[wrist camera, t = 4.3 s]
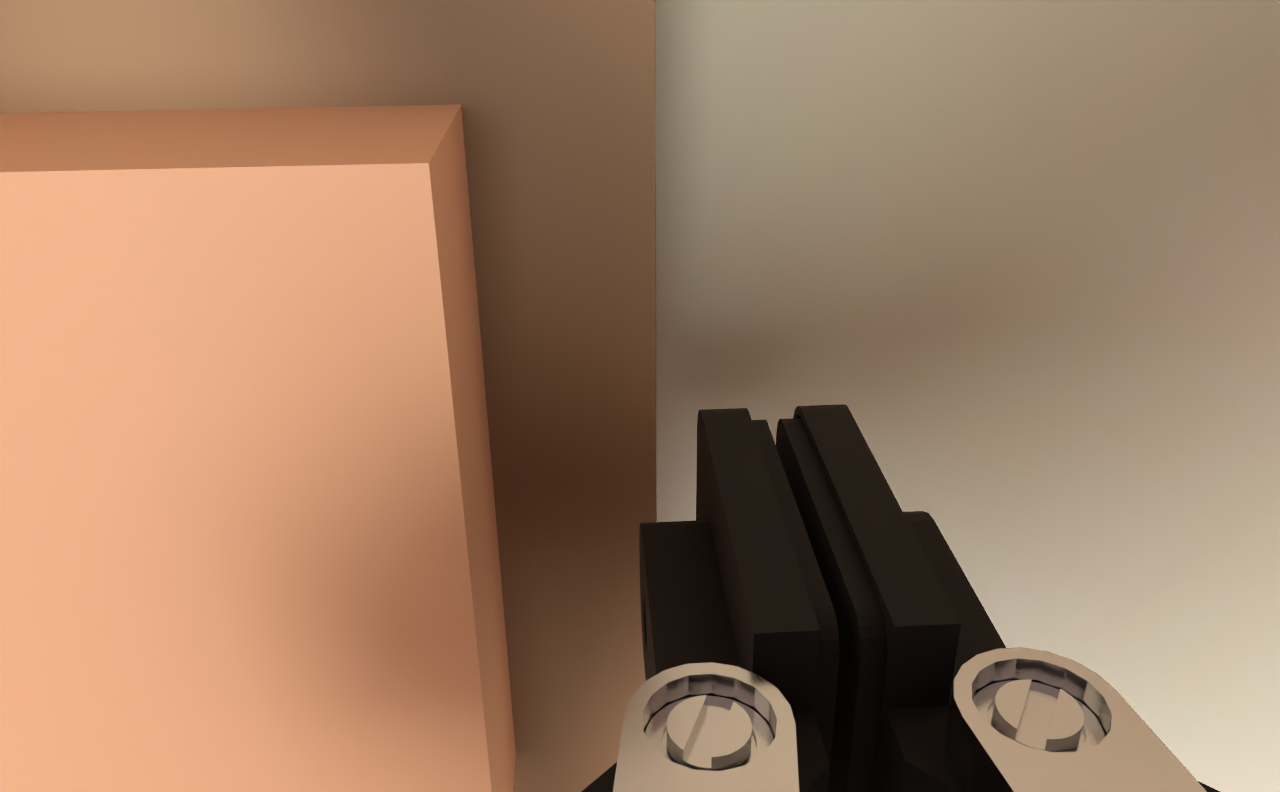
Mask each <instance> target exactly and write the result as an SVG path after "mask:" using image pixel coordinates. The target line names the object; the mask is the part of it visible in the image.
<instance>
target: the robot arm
mask: <svg viewBox="0 0 1280 792" xmlns="http://www.w3.org/2000/svg"><path fill="white" fill-rule="evenodd" d="M639 555H640V600H641V623H642V641H643V655H644V667H645V678H646V681H645V682H644V683H643V684H642V685H641V686H640V687H639V689H638V690H637V691H636V692H635V693H634V694H633V695H632V696H631V698H630V701H629V704H628V706H627V709H626V712H625V714H624V720H623V727H622V733H621V740H620V747H619V753H618V760H617V762H616V763H615V764H614V765H613V766H611V767H610V768H609V769H608V770H607V771H605V772H604V773H603V774H602V775H601V776H599V777H598V778H597V779H596V780H595V781H593V782H592V783H591V784H590V785H589V786H587V787H586V788H585V789H584V790H583V791H581V792H1220V791H1217V790H1215V789H1213V788H1211V787H1209V786H1207V785H1205V784H1203V783H1201V782H1199V781H1197V780H1196V779H1195V778H1194V777H1193V776H1192V775H1191V773H1190V772H1189V771H1188V770H1187V769H1186V768H1185V767H1184V766H1183V764H1182V763H1181V762H1180V761H1179V760H1178V759H1177V758H1176V757H1175V756H1174V754H1173V753H1172V752H1171V751H1170V750H1169V749H1168V748H1167V747H1166V745H1165V744H1164V743H1163V742H1162V741H1161V740H1160V739H1159V738H1158V736H1157V735H1156V734H1155V733H1154V732H1153V731H1152V730H1151V729H1150V728H1149V726H1148V725H1147V724H1146V723H1145V722H1144V721H1143V720H1142V719H1141V717H1140V716H1139V715H1138V714H1137V713H1136V712H1135V711H1134V710H1133V709H1132V707H1131V706H1130V705H1129V704H1128V703H1127V702H1126V701H1125V700H1124V698H1123V697H1122V696H1121V695H1120V694H1119V693H1118V692H1117V691H1116V690H1115V689H1114V688H1113V687H1112V686H1111V685H1110V684H1108V683H1107V682H1106V681H1105V680H1104V679H1103V678H1102V677H1100V676H1099V675H1098V674H1097V673H1095V672H1093V671H1092V670H1090V669H1088V668H1086V667H1084V666H1083V665H1081V664H1079V663H1077V662H1076V661H1074V660H1071V659H1068V658H1065V657H1062V656H1059V655H1056V654H1053V653H1050V652H1047V651H1041V650H1034V649H1028V648H1006V647H1005V645H1004V643H1003V641H1002V640H1001V638H1000V636H999V634H998V633H997V631H996V629H995V627H994V626H993V624H992V622H991V620H990V618H989V617H988V615H987V613H986V611H985V610H984V608H983V606H982V604H981V603H980V601H979V599H978V597H977V596H976V594H975V592H974V590H973V588H972V587H971V585H970V583H969V581H968V580H967V578H966V576H965V574H964V573H963V571H962V569H961V567H960V565H959V564H958V562H957V560H956V558H955V557H954V555H953V553H952V551H951V550H950V548H949V546H948V544H947V542H946V541H945V539H944V537H943V535H942V534H941V532H940V530H939V528H938V527H937V525H936V523H935V521H934V520H933V518H932V517H931V516H930V515H929V513H927V512H923V511H916V512H902V510H901V508H900V506H899V504H898V502H897V500H896V498H895V496H894V495H893V493H892V491H891V489H890V487H889V485H888V483H887V481H886V479H885V477H884V475H883V474H882V472H881V470H880V468H879V466H878V464H877V462H876V460H875V458H874V456H873V454H872V452H871V451H870V449H869V447H868V445H867V443H866V441H865V439H864V437H863V435H862V433H861V431H860V430H859V428H858V426H857V424H856V422H855V420H854V418H853V416H852V414H851V412H850V410H849V409H848V407H847V406H846V405H819V406H797V407H796V409H795V412H794V417H793V419H779V421H778V425H777V436H776V445H775V443H774V440H773V437H772V434H771V431H770V429H769V426H768V423H767V421H766V420H751V417H750V414H749V411H748V409H747V408H739V409H712V410H699V413H698V423H697V496H696V521H679V522H655V523H640V528H639Z"/></svg>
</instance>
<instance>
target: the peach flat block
mask: <svg viewBox="0 0 1280 792" xmlns="http://www.w3.org/2000/svg"><path fill="white" fill-rule="evenodd" d="M515 759H516V750H515V738H514V726H513V715H512V703H511V691H510V679H509V667H508V655H507V643H506V631H505V620H504V608H503V596H502V584H501V572H500V560H499V548H498V536H497V525H496V513H495V501H494V489H493V477H492V465H491V453H490V442H489V430H488V418H487V406H486V394H485V382H484V370H483V358H482V347H481V335H480V323H479V311H478V299H477V287H476V275H475V263H474V252H473V240H472V228H471V216H470V204H469V192H468V180H467V168H466V157H465V145H464V133H463V121H462V109H461V104H459V105H407V106H354V107H302V108H249V109H196V110H144V111H91V112H38V113H0V792H513V785H514V772H515Z"/></svg>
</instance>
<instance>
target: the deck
mask: <svg viewBox="0 0 1280 792" xmlns="http://www.w3.org/2000/svg"><path fill="white" fill-rule="evenodd" d="M459 104H461V109H462V121H463V133H464V145H465V157H466V168H467V180H468V192H469V204H470V216H471V228H472V240H473V252H474V263H475V275H476V287H477V299H478V311H479V323H480V335H481V347H482V358H483V370H484V382H485V394H486V406H487V418H488V430H489V442H490V453H491V465H492V477H493V489H494V501H495V513H496V525H497V536H498V548H499V560H500V572H501V584H502V596H503V608H504V620H505V631H506V643H507V655H508V667H509V679H510V691H511V703H512V715H513V726H514V738H515V750H516V759H515V772H514V785H513V792H581V791H583V790H584V789H585V788H586V787H587V786H589V785H590V784H591V783H592V782H593V781H595V780H596V779H597V778H598V777H599V776H601V775H602V774H603V773H604V772H605V771H607V770H608V769H609V768H610V767H611V766H613V765H614V764H615V763H616V762H617V760H618V753H619V747H620V740H621V733H622V727H623V720H624V714H625V712H626V709H627V706H628V704H629V701H630V698H631V696H632V695H633V694H634V693H635V692H636V691H637V690H638V689H639V687H640V686H641V685H642V684H643V683H644V682H645V681H646V678H645V667H644V655H643V641H642V623H641V600H640V555H639V528H640V523H655V522H656V226H655V0H0V113H38V112H91V111H144V110H196V109H249V108H302V107H354V106H407V105H459Z"/></svg>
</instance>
